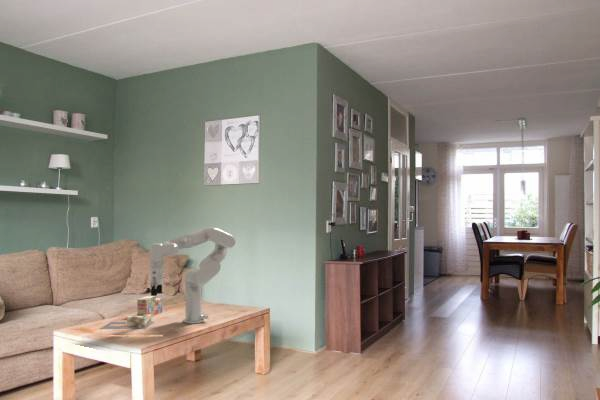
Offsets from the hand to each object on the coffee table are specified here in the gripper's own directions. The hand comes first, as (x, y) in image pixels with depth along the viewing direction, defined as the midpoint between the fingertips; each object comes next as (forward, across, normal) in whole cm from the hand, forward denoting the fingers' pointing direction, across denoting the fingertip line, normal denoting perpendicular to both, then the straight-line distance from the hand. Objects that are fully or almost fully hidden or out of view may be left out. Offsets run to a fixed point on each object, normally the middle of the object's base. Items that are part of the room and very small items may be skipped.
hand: (156, 294), depth 288 cm
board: (+19, 0, +16) cm, 25 cm away
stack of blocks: (+19, +32, +14) cm, 40 cm away
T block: (+18, 0, +10) cm, 21 cm away
